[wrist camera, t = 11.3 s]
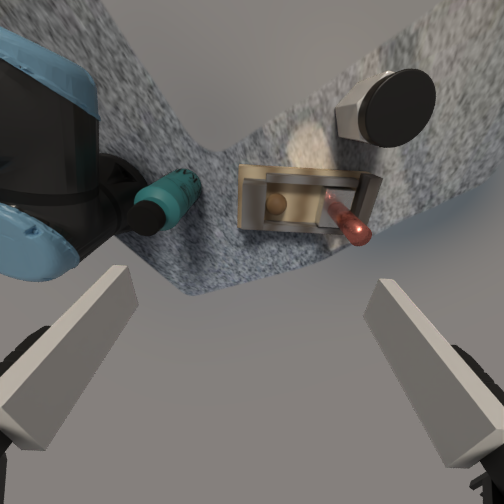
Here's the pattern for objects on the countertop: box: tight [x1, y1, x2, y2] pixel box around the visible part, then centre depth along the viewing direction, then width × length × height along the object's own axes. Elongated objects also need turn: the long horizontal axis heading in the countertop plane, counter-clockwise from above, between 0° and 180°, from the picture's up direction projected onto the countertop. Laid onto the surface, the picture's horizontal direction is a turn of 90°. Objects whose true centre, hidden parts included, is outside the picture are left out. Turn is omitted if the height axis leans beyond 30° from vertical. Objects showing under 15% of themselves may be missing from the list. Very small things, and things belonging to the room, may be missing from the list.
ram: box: [315, 185, 372, 246], centre depth 37 cm, size 5×7×14 cm
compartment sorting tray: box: [237, 164, 383, 235], centre depth 42 cm, size 24×12×7 cm, turn 87°
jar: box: [335, 69, 436, 148], centre depth 32 cm, size 9×8×12 cm
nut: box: [265, 193, 287, 215], centre depth 41 cm, size 4×4×4 cm
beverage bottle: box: [127, 168, 202, 236], centre depth 35 cm, size 6×7×20 cm
